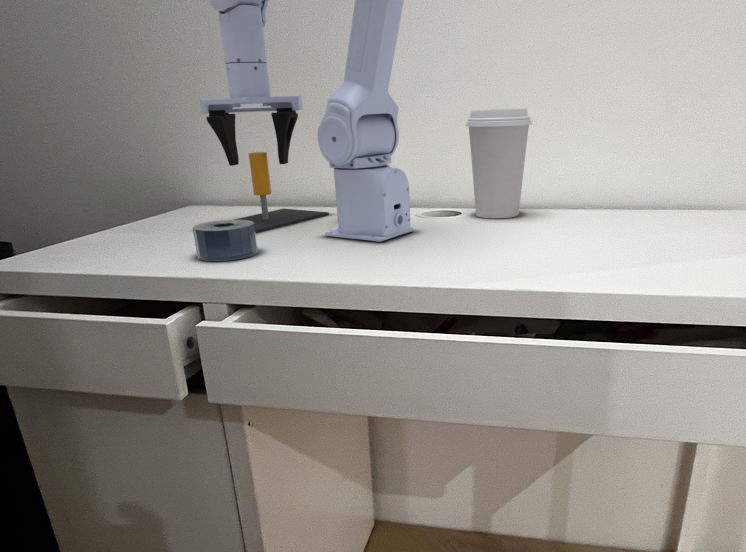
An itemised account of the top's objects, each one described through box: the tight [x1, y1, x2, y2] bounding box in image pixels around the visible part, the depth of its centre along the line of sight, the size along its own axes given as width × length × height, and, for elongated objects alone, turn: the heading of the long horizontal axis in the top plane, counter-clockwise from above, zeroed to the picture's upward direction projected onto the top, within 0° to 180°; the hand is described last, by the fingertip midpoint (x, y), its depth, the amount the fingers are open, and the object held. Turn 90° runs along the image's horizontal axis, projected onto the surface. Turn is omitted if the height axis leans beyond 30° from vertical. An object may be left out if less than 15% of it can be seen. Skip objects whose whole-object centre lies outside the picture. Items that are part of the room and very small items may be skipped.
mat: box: [233, 208, 330, 234], centre depth 95 cm, size 10×18×1 cm, turn 147°
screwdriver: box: [248, 151, 272, 220], centre depth 94 cm, size 3×3×10 cm
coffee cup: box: [465, 108, 533, 219], centre depth 92 cm, size 10×10×15 cm
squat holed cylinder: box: [192, 219, 258, 262], centre depth 75 cm, size 7×7×4 cm
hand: (258, 164), depth 92 cm, fingers open, 7 cm apart
